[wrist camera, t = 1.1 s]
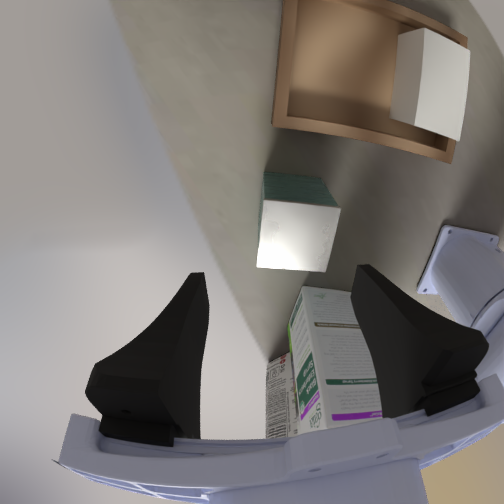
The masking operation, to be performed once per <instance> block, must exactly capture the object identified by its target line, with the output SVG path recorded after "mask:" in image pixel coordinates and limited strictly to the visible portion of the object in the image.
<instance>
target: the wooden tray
mask: <svg viewBox="0 0 504 504" xmlns="http://www.w3.org/2000/svg"><path fill="white" fill-rule="evenodd" d="M421 28H427V29H429V30H431V31H433V32H435V33H437V34H439V35H441V36H443V37H445V38H447V39H449V40H451V41H453V42H455V43H457V44H459V45H461V46H462V47H464V48H466V49H467V37H466V36H464V35H462V34H460V33H459V32H457V31H455V30H453V29H451V28H450V27H448V26H446V25H444V24H442V23H440V22H438V21H436V20H434V19H432V18H429V17H427V16H425V15H423V14H421V13H418V12H416V11H414V10H411V9H409V8H407V7H404V6H402V5H399V4H396V3H394V2H391V1H388V0H283V6H282V17H281V27H280V38H279V49H278V59H277V70H276V80H275V90H274V100H273V111H272V121H271V124H272V126H273V127H279V128H287V129H296V130H303V131H310V132H317V133H323V134H330V135H335V136H341V137H347V138H352V139H357V140H362V141H367V142H371V143H376V144H380V145H385V146H389V147H393V148H397V149H401V150H405V151H409V152H412V153H416V154H419V155H423V156H426V157H430V158H433V159H436V160H440V161H443V162H446V163H449V164H451V162H452V158H453V153H454V149H455V144H456V140H454V139H452V138H449V137H446V136H444V135H441V134H438V133H435V132H432V131H429V130H426V129H423V128H420V127H417V126H414V125H411V124H408V123H404V122H401V121H398V120H394V119H391V118H389V114H390V108H391V101H392V93H393V86H394V77H395V68H396V57H397V45H398V35H400V34H403V33H407V32H410V31H413V30H417V29H421Z"/></svg>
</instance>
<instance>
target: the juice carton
mask: <svg viewBox="0 0 504 504" xmlns="http://www.w3.org/2000/svg"><path fill="white" fill-rule="evenodd" d="M297 435H298V431H297V420H296V409H295V398H294V387H293V377H292V367H291V357H290V352H289V353H287V354H285V355H283V356H281V357H279V358H277V359H275V360H273V361H272V362H270V363H269V364H268V365H267V372H266V439H271V438H284V437H294V436H297Z"/></svg>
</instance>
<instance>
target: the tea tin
mask: <svg viewBox="0 0 504 504" xmlns="http://www.w3.org/2000/svg"><path fill="white" fill-rule="evenodd" d="M340 211H341V207H340V206H338V205H337V203H336V202H335V200H334V198H333V197H332V195H331V194H330V192H329V190H328V189H327V187H326V186H325V184H324V183H323V181H322V180H321V178H316V177H308V176H299V175H291V174H281V173H271V172H264V173H263V183H262V193H261V203H260V213H259V223H258V258H257V267H265V268H278V269H291V270H304V271H318V272H326V269H327V265H328V261H329V257H330V253H331V249H332V245H333V241H334V237H335V233H336V229H337V225H338V220H339V216H340Z"/></svg>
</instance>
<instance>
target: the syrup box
mask: <svg viewBox="0 0 504 504" xmlns="http://www.w3.org/2000/svg"><path fill="white" fill-rule="evenodd" d="M350 296H351V292H347V291H341V290H334V289H326V288H317V287H309V286H302V288H301V291H300V294H299V296H298V299H297V301H296V304H295V306H294V309H293V312H292V315H291V318H290V320H289V323H288V326H287V330H288V338H289V347H290V357H291V367H292V377H293V387H294V398H295V409H296V420H297V431H298V435H300V434H302V433H307V432H312V431H316V430H323V429H330V428H336V427H342V426H347V425H352V424H357V423H362V422H367V421H371V420H375V419H381V418H382V408H381V400H380V394H379V388H378V383H377V378H376V373H375V369H374V365H373V361H372V357H371V354H370V351H369V349H368V346H367V344H366V341H365V339H364V336H363V334H362V331H361V329H360V326H359V324H358V322H357V319H356V317H355V314H354V310H353V306H352V302H351V299H350Z"/></svg>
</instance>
